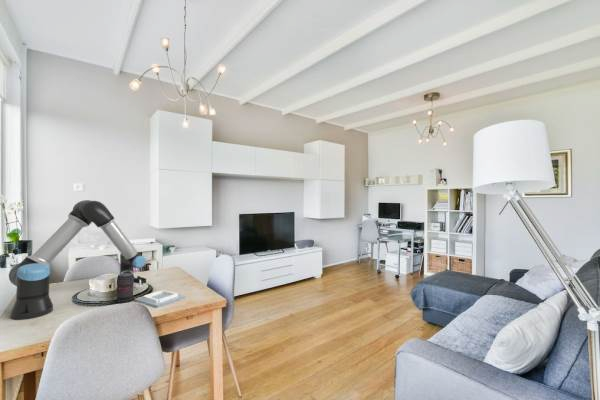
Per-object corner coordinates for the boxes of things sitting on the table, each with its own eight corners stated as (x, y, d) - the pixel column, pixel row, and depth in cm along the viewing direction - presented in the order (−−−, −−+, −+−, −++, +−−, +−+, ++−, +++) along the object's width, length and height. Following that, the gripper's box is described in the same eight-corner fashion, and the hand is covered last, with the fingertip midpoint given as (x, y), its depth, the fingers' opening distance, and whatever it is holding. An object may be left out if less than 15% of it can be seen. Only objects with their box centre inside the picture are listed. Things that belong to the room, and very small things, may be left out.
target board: (134, 300, 159) (134, 296, 159) (163, 292, 174) (163, 287, 174) (157, 308, 149) (157, 302, 149) (185, 298, 165) (185, 293, 165)
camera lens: (125, 304, 153) (126, 276, 153) (112, 302, 155) (113, 275, 155) (136, 299, 161) (137, 273, 161) (124, 298, 163) (125, 272, 163)
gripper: (148, 280, 184) (151, 289, 166) (102, 285, 171) (99, 296, 152) (149, 269, 184) (151, 277, 166) (102, 273, 171) (99, 282, 153)
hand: (126, 286), depth 159 cm, fingers open, 13 cm apart
